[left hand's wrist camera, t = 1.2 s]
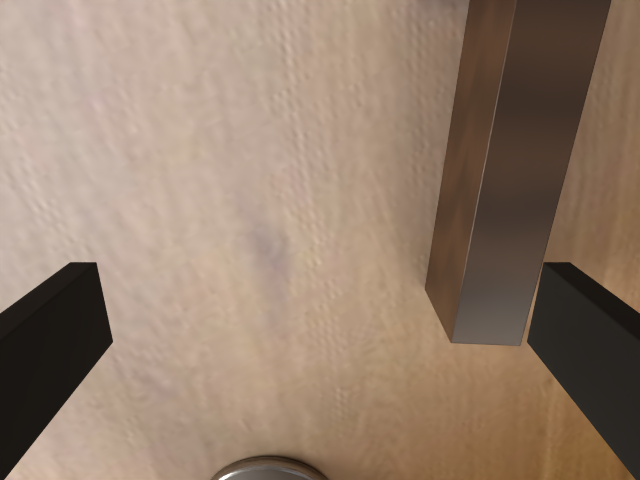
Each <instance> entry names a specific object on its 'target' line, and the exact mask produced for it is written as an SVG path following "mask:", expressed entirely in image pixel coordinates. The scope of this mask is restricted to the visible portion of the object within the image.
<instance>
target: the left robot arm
mask: <svg viewBox="0 0 640 480" xmlns="http://www.w3.org/2000/svg"><path fill="white" fill-rule="evenodd" d="M112 343H113V339H112V335H111V330H110V325H109V320H108V316H107V311H106V306H105V301H104V296H103V292H102V287H101V282H100V277H99V273H98V268H97V263H96V262H70V263H69V264H67V265H66V266H65V267H63V268H62V269H61V270H59V271H58V272H56V273H55V274H54V275H52V276H51V277H50V278H48V279H47V280H45V281H44V282H43V283H41V284H40V285H39V286H37V287H36V288H35V289H33V290H32V291H30V292H29V293H28V294H26V295H25V296H24V297H22V298H21V299H19V300H18V301H17V302H15V303H14V304H13V305H11V306H10V307H9V308H7V309H6V310H4V311H3V312H2V313H0V480H4V479H5V478H6V477H7V476H8V474H9V473H10V472H11V470H12V469H13V468H14V467H15V465H16V464H17V463H18V462H19V460H20V459H21V458H22V457H23V455H24V454H25V453H26V451H27V450H28V449H29V448H30V446H31V445H32V444H33V443H34V441H35V440H36V439H37V438H38V436H39V435H40V434H41V432H42V431H43V430H44V429H45V427H46V426H47V425H48V424H49V422H50V421H51V420H52V419H53V417H54V416H55V415H56V413H57V412H58V411H59V410H60V408H61V407H62V406H63V405H64V403H65V402H66V401H67V400H68V398H69V397H70V396H71V394H72V393H73V392H74V391H75V389H76V388H77V387H78V386H79V384H80V383H81V382H82V381H83V379H84V378H85V377H86V375H87V374H88V373H89V372H90V370H91V369H92V368H93V367H94V365H95V364H96V363H97V362H98V360H99V359H100V358H101V356H102V355H103V354H104V353H105V351H106V350H107V349H108V348H109V346H110V345H111V344H112ZM527 343H528V344H529V345H530V346H531V348H532V349H533V350H534V351H535V353H536V354H537V355H538V356H539V358H540V359H541V360H542V362H543V363H544V364H545V365H546V367H547V368H548V369H549V370H550V372H551V373H552V374H553V375H554V377H555V378H556V379H557V381H558V382H559V383H560V384H561V386H562V387H563V388H564V389H565V391H566V392H567V393H568V394H569V396H570V397H571V398H572V400H573V401H574V402H575V403H576V405H577V406H578V407H579V408H580V410H581V411H582V412H583V413H584V415H585V416H586V417H587V419H588V420H589V421H590V422H591V424H592V425H593V426H594V427H595V429H596V430H597V431H598V432H599V434H600V435H601V436H602V438H603V439H604V440H605V441H606V443H607V444H608V445H609V446H610V448H611V449H612V450H613V451H614V453H615V454H616V455H617V457H618V458H619V459H620V460H621V462H622V463H623V464H624V465H625V467H626V468H627V469H628V470H629V472H630V473H631V474H632V476H633V477H634V478H635V479H636V480H640V313H638V312H637V311H636V310H634V309H633V308H631V307H630V306H629V305H627V304H626V303H625V302H623V301H622V300H621V299H619V298H618V297H616V296H615V295H614V294H612V293H611V292H610V291H608V290H607V289H605V288H604V287H603V286H601V285H600V284H599V283H597V282H596V281H595V280H593V279H592V278H590V277H589V276H588V275H586V274H585V273H584V272H582V271H581V270H579V269H578V268H577V267H575V266H574V265H573V264H571V263H570V262H544V263H543V268H542V273H541V277H540V282H539V287H538V292H537V296H536V301H535V306H534V311H533V316H532V320H531V325H530V330H529V335H528V339H527ZM211 480H327V479H326V478H325V477H324V476H323V475H322V474H320V473H319V472H318V471H316V470H315V469H313V468H311V467H309V466H307V465H305V464H303V463H300V462H298V461H294V460H291V459H286V458H280V457H255V458H249V459H244V460H241V461H238V462H235V463H233V464H230V465H228V466H226V467H225V468H223V469H222V470H220V471H219V472H218V473H216V474H215V475H214V476H213V477H212V479H211Z"/></svg>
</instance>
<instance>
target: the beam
mask: <svg viewBox="0 0 640 480" xmlns="http://www.w3.org/2000/svg"><path fill="white" fill-rule="evenodd" d="M610 4H611V0H470V3H469V9H468V16H467V22H466V28H465V35H464V41H463V48H462V54H461V61H460V67H459V73H458V80H457V86H456V93H455V99H454V106H453V112H452V118H451V125H450V131H449V138H448V144H447V151H446V157H445V163H444V170H443V176H442V183H441V189H440V195H439V202H438V208H437V215H436V221H435V228H434V234H433V240H432V247H431V253H430V260H429V266H428V273H427V279H426V285H425V291H426V293H427V295H428V297H429V299H430V301H431V303H432V305H433V307H434V309H435V311H436V314H437V316H438V318H439V320H440V322H441V324H442V326H443V328H444V330H445V332H446V334H447V336H448V338H449V340H450V343H462V344H486V345H510V346H520V345H521V341H522V337H523V333H524V329H525V326H526V322H527V318H528V314H529V311H530V307H531V303H532V299H533V295H534V292H535V288H536V284H537V280H538V277H539V273H540V269H541V265H542V261H543V258H544V254H545V250H546V246H547V242H548V239H549V235H550V231H551V227H552V224H553V220H554V216H555V212H556V208H557V205H558V201H559V197H560V193H561V190H562V186H563V182H564V178H565V174H566V171H567V167H568V163H569V159H570V155H571V152H572V148H573V144H574V140H575V137H576V133H577V129H578V125H579V121H580V118H581V114H582V110H583V106H584V102H585V99H586V95H587V91H588V87H589V84H590V80H591V76H592V72H593V68H594V65H595V61H596V57H597V53H598V50H599V46H600V42H601V38H602V34H603V31H604V27H605V23H606V19H607V15H608V12H609V8H610Z"/></svg>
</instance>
